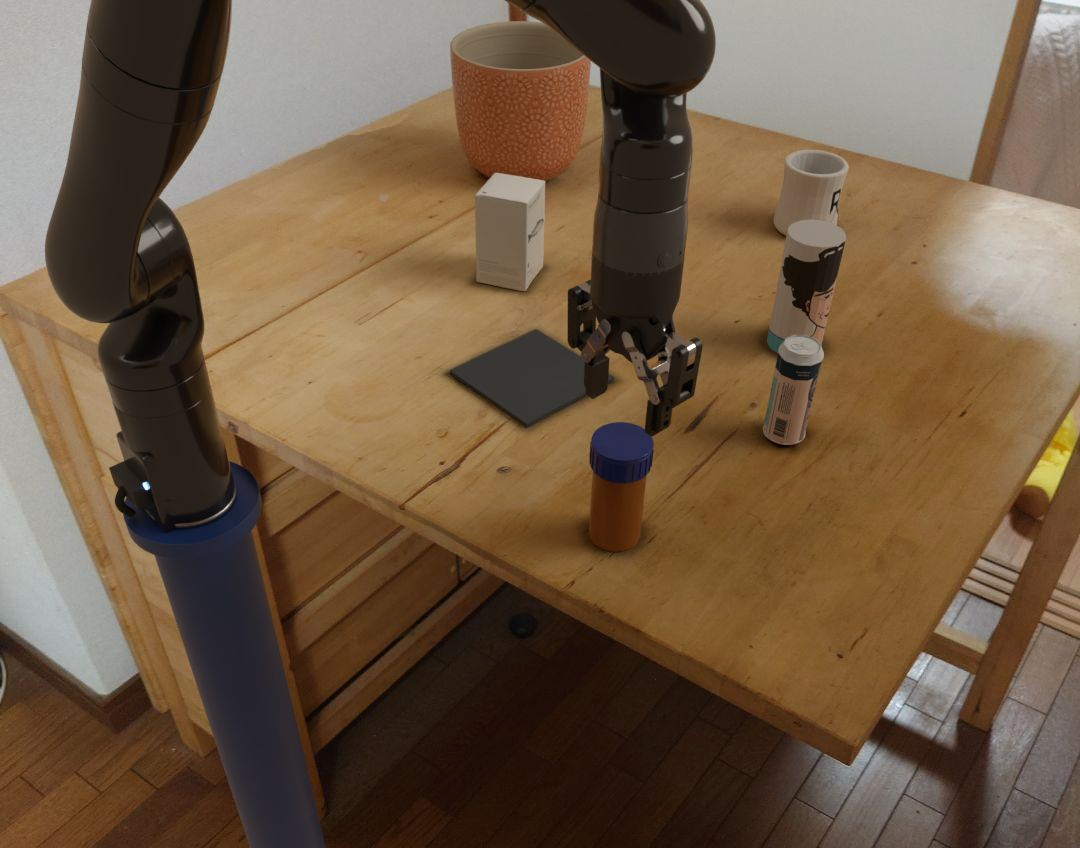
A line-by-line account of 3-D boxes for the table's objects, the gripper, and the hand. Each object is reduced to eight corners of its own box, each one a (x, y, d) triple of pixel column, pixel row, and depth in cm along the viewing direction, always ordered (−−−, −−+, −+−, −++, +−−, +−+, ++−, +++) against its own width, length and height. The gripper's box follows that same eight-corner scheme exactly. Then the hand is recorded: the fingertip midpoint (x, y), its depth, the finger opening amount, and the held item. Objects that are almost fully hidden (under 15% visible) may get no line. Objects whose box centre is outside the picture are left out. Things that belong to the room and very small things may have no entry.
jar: (614, 559, 105) (622, 469, 97) (578, 532, 108) (583, 443, 100) (650, 535, 108) (661, 446, 100) (614, 510, 111) (621, 421, 103)
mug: (830, 247, 152) (845, 180, 145) (767, 237, 154) (779, 170, 147) (841, 210, 161) (856, 145, 154) (781, 200, 163) (793, 136, 156)
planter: (428, 175, 167) (420, 49, 154) (506, 131, 180) (505, 11, 167) (536, 211, 159) (538, 81, 146) (610, 163, 171) (618, 39, 158)
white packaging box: (526, 293, 142) (527, 203, 133) (474, 282, 144) (472, 193, 135) (545, 267, 147) (547, 179, 138) (495, 257, 149) (494, 170, 140)
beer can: (812, 444, 119) (833, 353, 111) (773, 451, 118) (792, 360, 110) (792, 419, 123) (812, 329, 114) (754, 426, 121) (772, 335, 113)
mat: (526, 428, 121) (526, 423, 120) (449, 374, 128) (449, 370, 128) (614, 381, 128) (614, 376, 127) (536, 332, 135) (536, 328, 135)
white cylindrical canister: (806, 364, 131) (831, 253, 120) (757, 346, 134) (777, 235, 123) (829, 340, 135) (855, 230, 124) (781, 323, 138) (802, 214, 127)
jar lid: (620, 492, 99) (622, 469, 97) (576, 461, 102) (577, 438, 100) (664, 465, 102) (667, 442, 100) (620, 436, 105) (622, 413, 103)
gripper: (737, 265, 84) (711, 432, 95) (609, 202, 92) (599, 363, 103) (672, 297, 80) (653, 467, 92) (544, 229, 88) (542, 393, 99)
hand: (625, 411), depth 97 cm, fingers open, 7 cm apart
